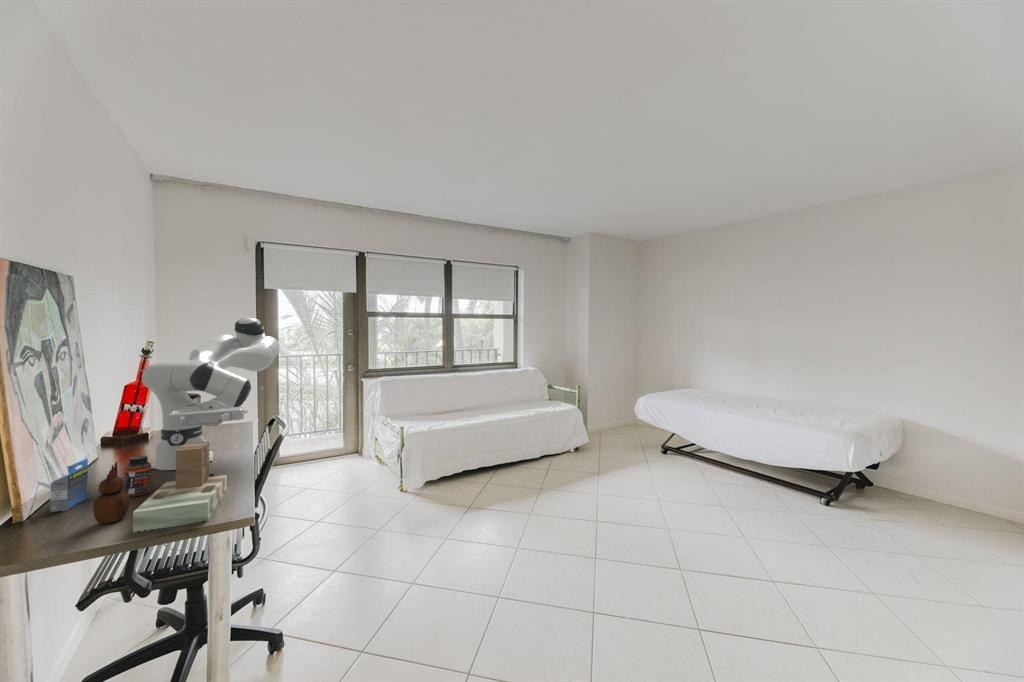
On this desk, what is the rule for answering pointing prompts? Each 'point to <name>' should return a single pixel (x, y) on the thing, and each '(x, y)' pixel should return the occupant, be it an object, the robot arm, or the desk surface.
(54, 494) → the label tape box
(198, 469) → the walnut block
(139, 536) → the desk surface
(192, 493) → the trap runway
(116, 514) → the wooden figurine
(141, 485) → the supplement bottle
